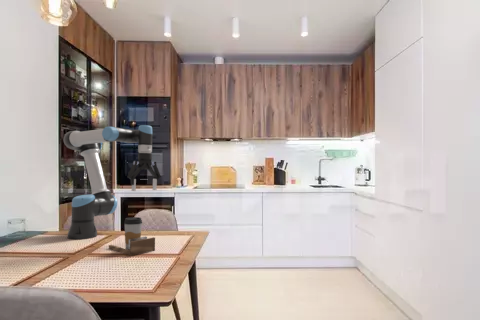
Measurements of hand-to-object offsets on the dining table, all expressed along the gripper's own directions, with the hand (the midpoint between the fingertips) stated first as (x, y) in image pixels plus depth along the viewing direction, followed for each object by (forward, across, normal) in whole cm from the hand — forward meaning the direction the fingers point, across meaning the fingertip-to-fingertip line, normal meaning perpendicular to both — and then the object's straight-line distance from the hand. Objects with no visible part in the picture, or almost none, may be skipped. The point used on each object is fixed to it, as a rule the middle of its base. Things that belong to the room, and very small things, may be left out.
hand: (144, 190), depth 180 cm
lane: (+27, -18, -17) cm, 36 cm away
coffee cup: (+27, -18, -18) cm, 37 cm away
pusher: (+26, -18, -24) cm, 40 cm away
